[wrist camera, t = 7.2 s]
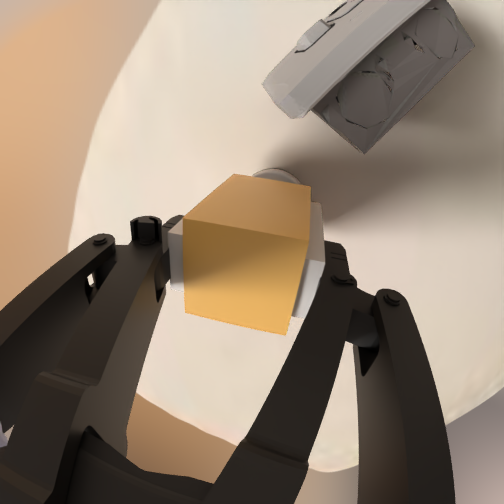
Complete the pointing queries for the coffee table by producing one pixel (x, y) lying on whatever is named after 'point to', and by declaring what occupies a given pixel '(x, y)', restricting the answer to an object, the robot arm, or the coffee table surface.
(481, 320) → the coffee table surface
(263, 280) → the yellow upright square block
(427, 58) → the electrical switch
